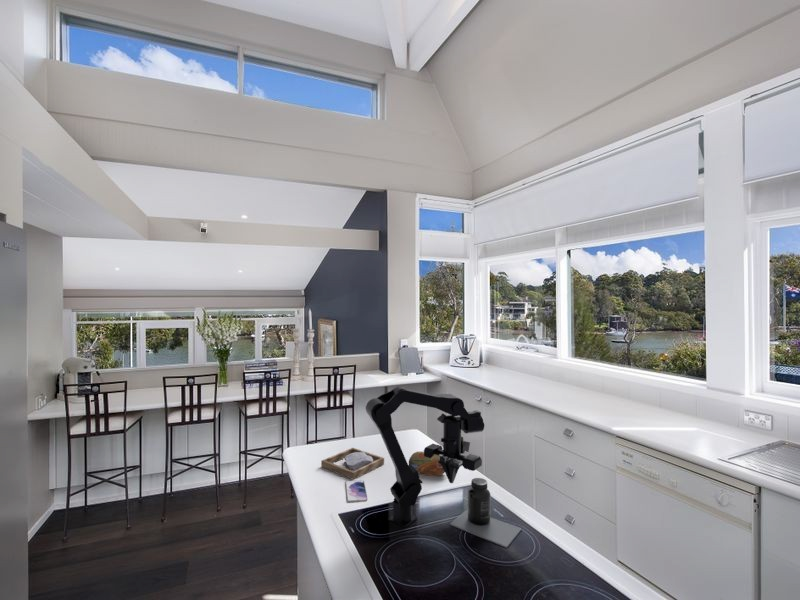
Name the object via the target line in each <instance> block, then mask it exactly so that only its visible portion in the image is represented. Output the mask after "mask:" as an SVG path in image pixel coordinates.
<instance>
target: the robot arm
mask: <svg viewBox="0 0 800 600" xmlns="http://www.w3.org/2000/svg"><path fill="white" fill-rule="evenodd" d="M404 403H409V404H414V405H418V406H419V405H420V406H424V407H428V408H434V409H437V410H439V411H441V412H444V413H445V414H444V413H441V415H439V416H438V417H437V418H436V420H437V421H438V422H440V423H441V424H443V425H442V426H443V428H442V429H443V431H442V432H443V434H442V435H443V437H442V438H440V441H441V442H442V445H443V446H442V445H440V444H436V443H431V444H429V445H427V446H426V447H424V449H423V452H424V456H425V457H428V458H432V457H433V456H434V454H435V455H439V461H438V463H440V464H441V466H442V468H443V469H444V471H445V473H444V474H445V475H446V477H447V479H448V482H449V483H450V484H453V483H455V480H456V476H457V474H458V472H459V469H460V467H463V468H464V469H465V470H469V471H476V470H477V469H478V468H480V467H482V465H483V459H482V457H481V456H480V455H476V454H472V453H469V451H470V446H471V442H470V441H467V440H464V437H463V436H462V432H463V433H464V434H473V433H474V434H475V433H481V432H483V431H484V429H485V422H484V419H483V417H482V412H481V411H479V410H477V409H476V410H472V411H467V409H466V408H465V402H464V400H463V399H461V398H459V397H457V396H455V395H453V394H451V393H440V394H434V393H428V392H424V391H420V390H419V391H418V390H414V389H411V388H410V389H409V388H406V387H402V386H396V387H394V388H393V389H391V390H389V391H387V392H384V393H383V394H381V395H379V396H378V397H376V398H371V399H370V400H368V402H367V403H366V406H365V412H366V413H367V415H368V417H370V420H371V421H372V422H373V424H374V426H375V427H377V429H378V431H379V434H380V436H381V438H382V440H383V442H384V443H383V444H384V446H385V448H386V449H387V453H388V455H389V457H390V458H391V461H392V463H393V467H394V470H395V471H394V472H395V478H396V481H395V482H394V484H393V485H392V486H391V487H390V489H389V490H390V492H391V493H390V494H391V495H392V496H393V497H394V499H393V501H392V515H391V516H389V518H388V520H389V522H392V523H395V524H397V525H398V526H400V527H403V528H405V527H408V526H409V525H410V524H411V523H413V522H414V521H416V520H417V519H418V516H417V515H415V514H414V506H415V505H416V503H417V500H418V496H419V495H420V494H421V492H422V490H423V489H422V488H423V487H422V484H423V481H422V480H421V477H420V475H419V474H418V471H417V470H416V469H415V468H414V467H413V466H412V464H409V463H408V461H407V459H406V457H405V455H404V452H403V449H402V447H401V445H400V443H399V441H398V438H397V435H396V433H395V431H394V429H393V424H392V422H393V421H392V414H393V413H395V412H396V411H397V410H398V408H399V407H400V406H401V405H403V404H404ZM446 414H448V415H446ZM466 452H467V453H469V454H468V455H462V454H465V453H466Z"/></svg>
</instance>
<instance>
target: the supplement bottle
mask: <svg viewBox="0 0 800 600" xmlns="http://www.w3.org/2000/svg"><path fill="white" fill-rule="evenodd" d="M491 500H492V499H491V492H490V490H489V489H488V481H487V480H486V479H484V478H483V477H475V478H472V479H471V484H470V487H469V489H468V490H467V509H468V520H469V521H470V522H471V523H472V524H475V525H479V526H483V525H487V524H488V523H489V522H490V517H491Z"/></svg>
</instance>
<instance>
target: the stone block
mask: <svg viewBox="0 0 800 600" xmlns="http://www.w3.org/2000/svg"><path fill="white" fill-rule="evenodd" d="M365 452H366V451H364V452H355V453H351V454H349V455H347V456H345V458H344V460H345V462H346V466H348V469H349V470H351V471H355V470H357V469H359V468H361V467H363V466H366V465H368V464H370V463H372V462H374V461H373V458H372V457H371V456H368V455H366V453H365Z"/></svg>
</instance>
